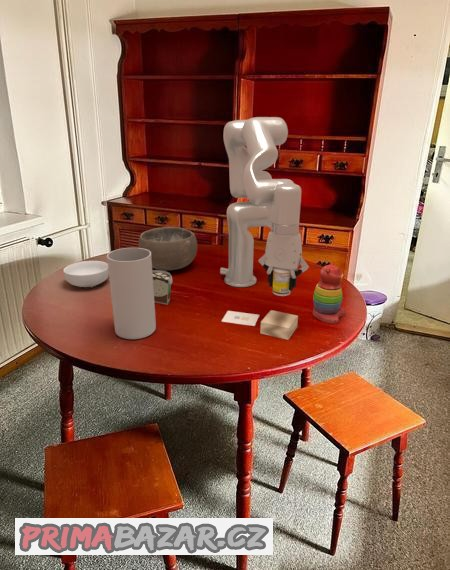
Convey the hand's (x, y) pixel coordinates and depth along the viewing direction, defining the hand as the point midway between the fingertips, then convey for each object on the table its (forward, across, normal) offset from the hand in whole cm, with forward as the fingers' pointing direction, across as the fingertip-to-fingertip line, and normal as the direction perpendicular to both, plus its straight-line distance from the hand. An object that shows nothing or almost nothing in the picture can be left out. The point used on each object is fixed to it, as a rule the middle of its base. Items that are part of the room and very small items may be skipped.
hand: (281, 286), depth 129 cm
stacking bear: (+15, +11, +17) cm, 25 cm away
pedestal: (+15, 0, 0) cm, 15 cm away
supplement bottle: (+2, 0, 0) cm, 2 cm away
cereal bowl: (+15, -79, +2) cm, 81 cm away
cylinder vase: (+15, -40, -20) cm, 47 cm away
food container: (+15, -46, +3) cm, 49 cm away
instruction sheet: (+15, -14, +2) cm, 21 cm away
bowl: (+15, -61, +32) cm, 71 cm away
